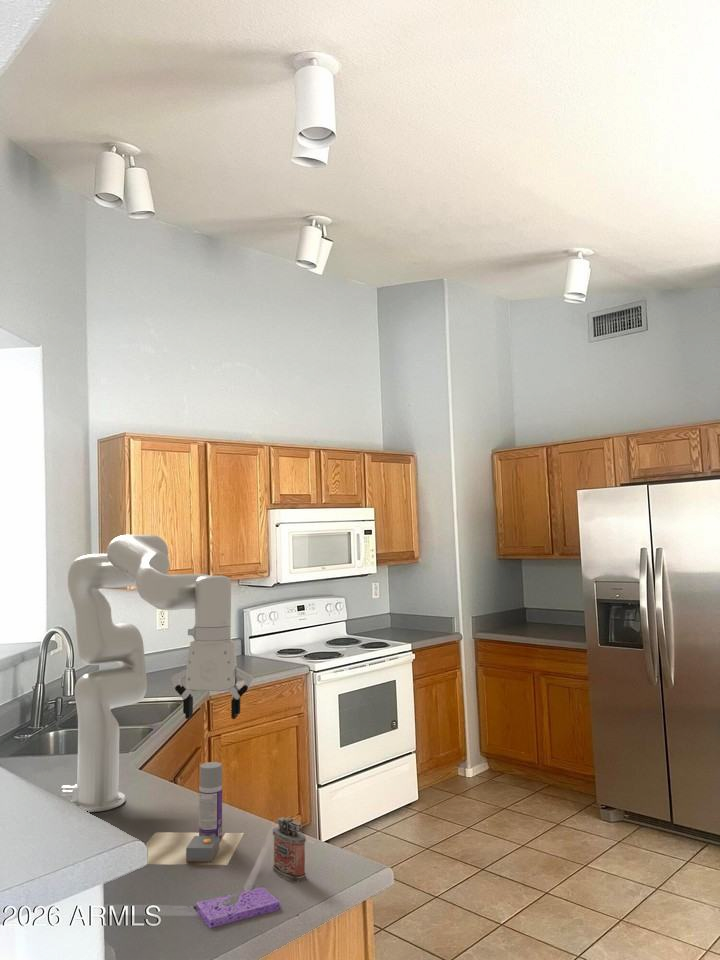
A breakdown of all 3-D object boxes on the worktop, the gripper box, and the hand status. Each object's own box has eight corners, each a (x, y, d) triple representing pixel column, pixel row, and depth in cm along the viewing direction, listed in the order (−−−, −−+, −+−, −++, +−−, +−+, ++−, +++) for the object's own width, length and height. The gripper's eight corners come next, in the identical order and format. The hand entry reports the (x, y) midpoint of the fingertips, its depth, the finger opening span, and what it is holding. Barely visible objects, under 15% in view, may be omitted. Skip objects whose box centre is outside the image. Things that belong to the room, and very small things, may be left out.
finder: (186, 861, 144) (186, 846, 144) (194, 849, 150) (194, 834, 150) (211, 861, 144) (211, 846, 144) (219, 849, 150) (219, 834, 150)
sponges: (195, 913, 127) (195, 902, 127) (264, 895, 133) (264, 884, 134) (209, 931, 121) (209, 919, 121) (280, 912, 127) (280, 900, 128)
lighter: (268, 870, 143) (268, 816, 143) (282, 865, 145) (282, 811, 146) (295, 884, 137) (295, 827, 138) (310, 878, 139) (309, 822, 140)
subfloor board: (128, 870, 143) (128, 864, 144) (155, 838, 159) (155, 832, 159) (227, 871, 142) (227, 864, 143) (244, 838, 158) (244, 832, 159)
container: (211, 833, 158) (212, 760, 160) (226, 839, 155) (227, 764, 157) (194, 840, 155) (194, 765, 156) (208, 846, 152) (209, 769, 153)
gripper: (166, 636, 155) (165, 721, 154) (249, 636, 154) (249, 721, 153) (177, 632, 163) (176, 713, 161) (256, 632, 162) (256, 713, 160)
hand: (211, 717), depth 157 cm, fingers open, 9 cm apart
